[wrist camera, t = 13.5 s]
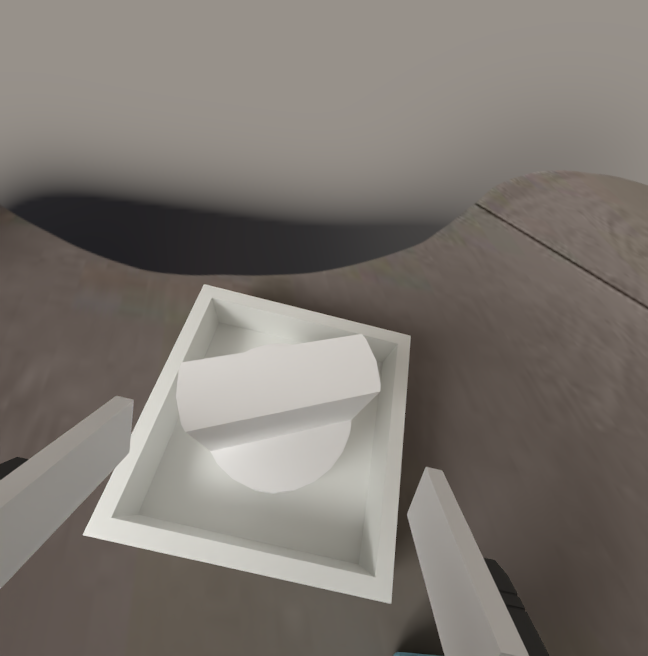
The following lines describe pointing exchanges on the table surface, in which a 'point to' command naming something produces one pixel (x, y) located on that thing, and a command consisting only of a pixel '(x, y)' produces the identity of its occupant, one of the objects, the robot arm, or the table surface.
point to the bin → (258, 507)
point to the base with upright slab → (278, 408)
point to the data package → (411, 654)
